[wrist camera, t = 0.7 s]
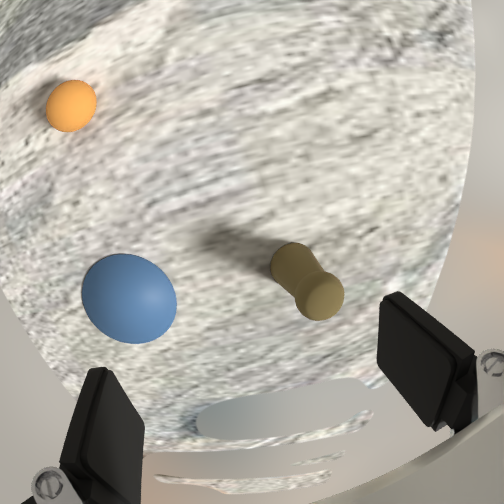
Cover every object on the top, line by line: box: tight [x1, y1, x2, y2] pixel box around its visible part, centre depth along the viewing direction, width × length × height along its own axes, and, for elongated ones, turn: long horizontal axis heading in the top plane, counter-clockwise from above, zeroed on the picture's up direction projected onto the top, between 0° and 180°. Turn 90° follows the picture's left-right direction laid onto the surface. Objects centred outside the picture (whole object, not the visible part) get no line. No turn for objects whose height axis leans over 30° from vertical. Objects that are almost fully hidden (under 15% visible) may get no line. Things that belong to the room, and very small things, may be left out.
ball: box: [46, 80, 96, 132], centre depth 25 cm, size 6×6×6 cm
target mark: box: [82, 254, 177, 344], centre depth 36 cm, size 13×13×1 cm
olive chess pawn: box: [270, 243, 344, 321], centre depth 34 cm, size 6×6×11 cm
